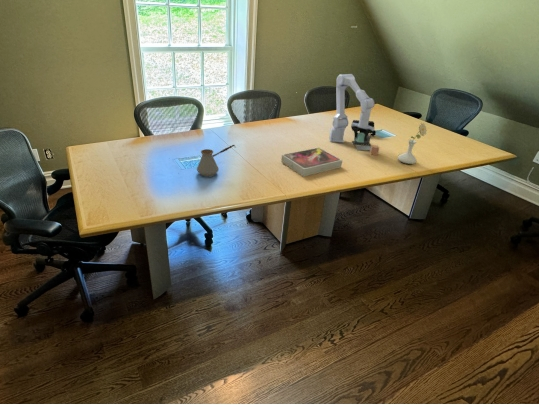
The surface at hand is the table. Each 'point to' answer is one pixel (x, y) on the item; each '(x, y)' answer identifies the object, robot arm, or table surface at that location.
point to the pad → (363, 147)
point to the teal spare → (360, 137)
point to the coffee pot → (209, 162)
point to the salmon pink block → (374, 150)
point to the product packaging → (311, 161)
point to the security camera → (365, 129)
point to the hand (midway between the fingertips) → (360, 139)
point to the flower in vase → (408, 156)
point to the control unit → (362, 142)
